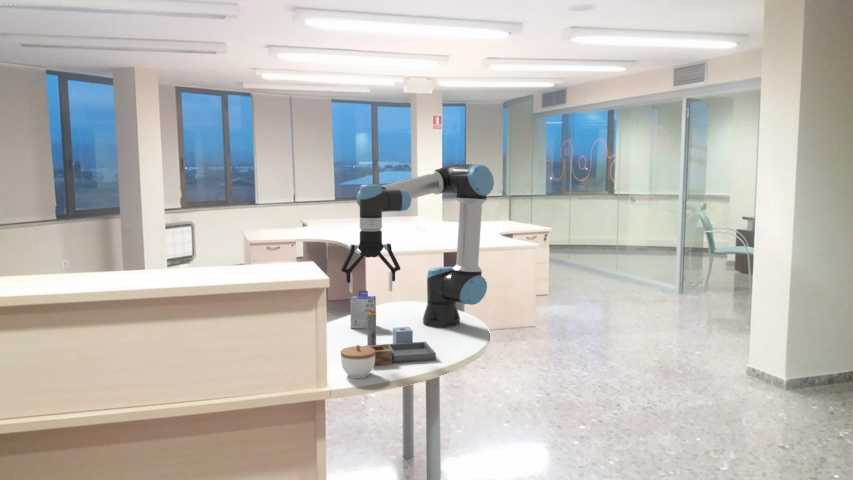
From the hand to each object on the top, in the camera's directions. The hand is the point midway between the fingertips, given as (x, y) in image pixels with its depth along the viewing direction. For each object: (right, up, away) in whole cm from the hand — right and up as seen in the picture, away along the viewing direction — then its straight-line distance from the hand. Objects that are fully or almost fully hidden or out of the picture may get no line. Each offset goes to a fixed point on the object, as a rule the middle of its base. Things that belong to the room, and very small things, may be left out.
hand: (370, 291), depth 223 cm
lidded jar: (-2, -24, -22) cm, 33 cm away
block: (+11, -20, +10) cm, 25 cm away
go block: (+3, -22, -9) cm, 24 cm away
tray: (+14, -22, -2) cm, 26 cm away
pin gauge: (0, -21, +3) cm, 21 cm away
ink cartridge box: (-6, -17, +36) cm, 40 cm away
